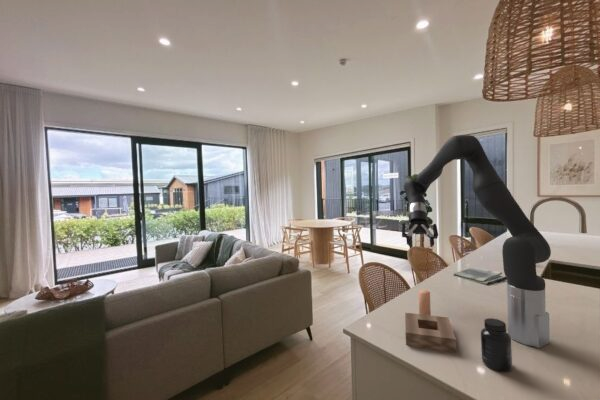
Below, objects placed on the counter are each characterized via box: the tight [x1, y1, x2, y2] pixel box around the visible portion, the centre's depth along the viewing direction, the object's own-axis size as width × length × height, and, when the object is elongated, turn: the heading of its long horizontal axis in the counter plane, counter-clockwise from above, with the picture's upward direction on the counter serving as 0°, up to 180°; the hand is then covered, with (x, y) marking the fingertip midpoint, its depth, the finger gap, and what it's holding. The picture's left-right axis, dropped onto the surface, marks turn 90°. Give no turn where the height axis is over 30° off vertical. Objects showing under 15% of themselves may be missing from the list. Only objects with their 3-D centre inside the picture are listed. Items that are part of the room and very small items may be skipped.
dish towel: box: [453, 267, 507, 286], centre depth 141 cm, size 19×18×3 cm
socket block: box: [404, 312, 457, 353], centre depth 88 cm, size 14×14×4 cm
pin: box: [418, 289, 432, 316], centre depth 101 cm, size 4×4×10 cm
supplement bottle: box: [480, 317, 513, 373], centre depth 73 cm, size 7×7×12 cm
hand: (420, 245), depth 111 cm, fingers open, 8 cm apart
